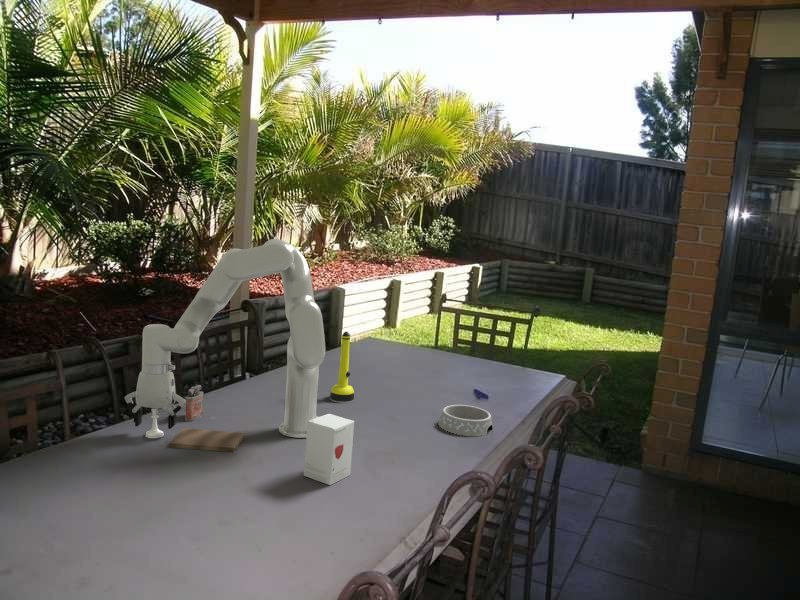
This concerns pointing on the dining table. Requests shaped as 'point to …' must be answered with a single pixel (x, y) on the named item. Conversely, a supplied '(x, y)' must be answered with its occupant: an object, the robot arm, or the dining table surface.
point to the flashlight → (343, 375)
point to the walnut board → (207, 440)
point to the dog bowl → (465, 420)
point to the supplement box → (328, 448)
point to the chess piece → (154, 426)
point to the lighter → (194, 404)
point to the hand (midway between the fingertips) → (154, 426)
